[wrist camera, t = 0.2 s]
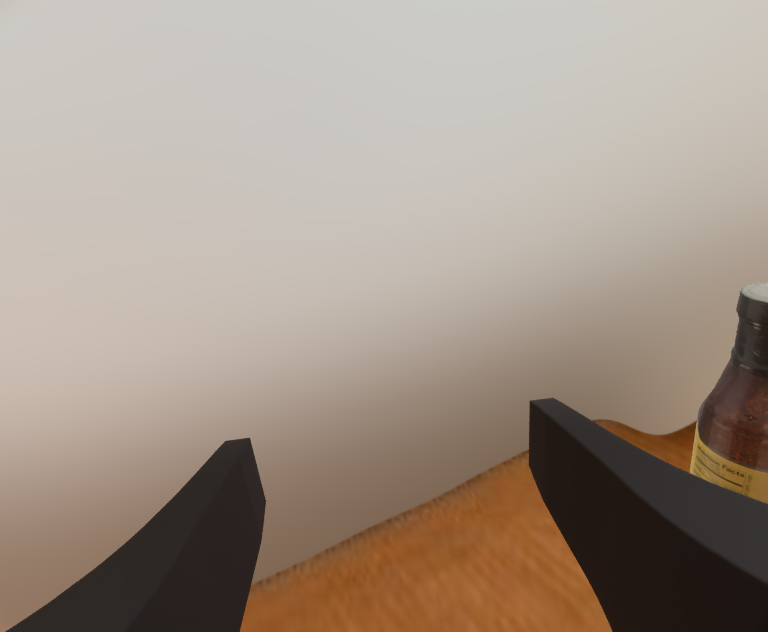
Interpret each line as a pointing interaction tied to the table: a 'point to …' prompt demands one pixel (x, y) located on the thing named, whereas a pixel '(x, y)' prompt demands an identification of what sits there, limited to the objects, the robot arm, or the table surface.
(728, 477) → the sauce bottle
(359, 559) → the table surface
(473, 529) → the table surface
